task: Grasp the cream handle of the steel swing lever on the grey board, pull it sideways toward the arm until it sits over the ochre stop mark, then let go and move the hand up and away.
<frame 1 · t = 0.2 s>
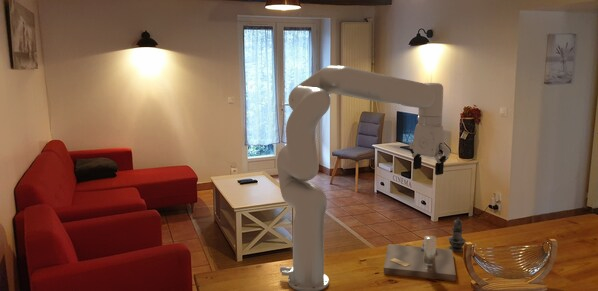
hand: (427, 171, 159), 31 cm above the table, tool pointing down, fingers open, 9 cm apart
lever: (429, 242, 157), point 8 cm above the table, hinge at 0.0°
dark grey tower figurine: (456, 249, 171), on the table
lever board: (419, 263, 159), on the table
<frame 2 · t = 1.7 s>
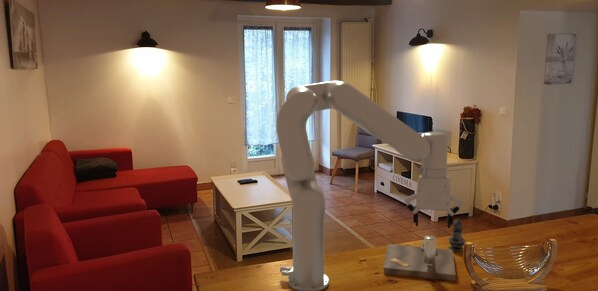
hand: (432, 225, 148), 17 cm above the table, tool pointing down, fingers open, 9 cm apart
nothing on the table moved.
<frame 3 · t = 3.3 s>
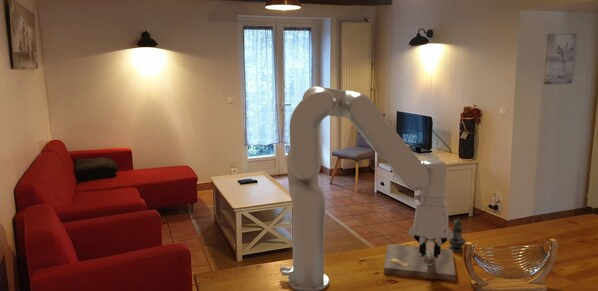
hand: (429, 255, 149), 7 cm above the table, tool pointing down, fingers closed on lever, 3 cm apart
lever: (429, 242, 157), point 8 cm above the table, hinge at 0.0°, touching gripper
everything else where it was.
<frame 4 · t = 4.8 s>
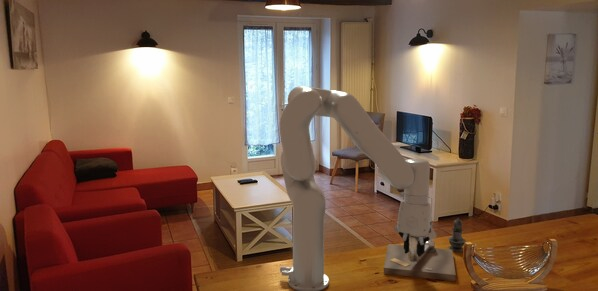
hand: (413, 252, 151), 7 cm above the table, tool pointing down, fingers closed on lever, 3 cm apart
lever: (421, 241, 158), point 8 cm above the table, hinge at 17.6°, touching gripper
everything else where it was.
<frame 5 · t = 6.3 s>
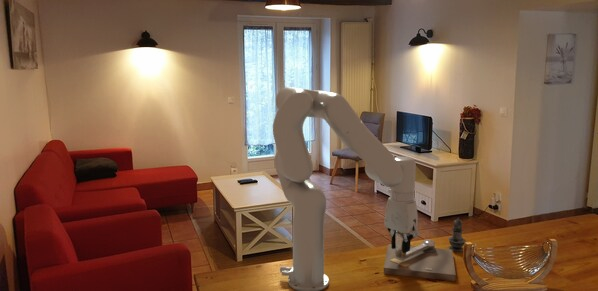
hand: (400, 249, 154), 7 cm above the table, tool pointing down, fingers closed on lever, 3 cm apart
lever: (415, 239, 159), point 8 cm above the table, hinge at 34.5°, touching gripper
everything else where it was.
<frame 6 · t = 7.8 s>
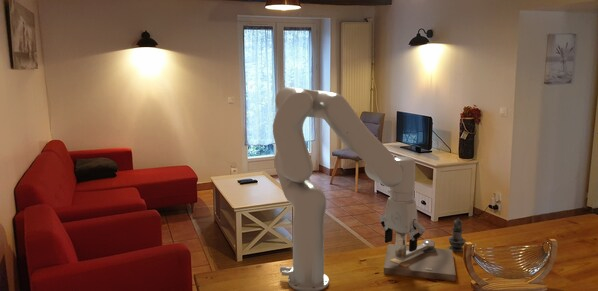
hand: (400, 246, 154), 8 cm above the table, tool pointing down, fingers open, 9 cm apart
lever: (415, 239, 159), point 8 cm above the table, hinge at 34.6°
everything else where it was.
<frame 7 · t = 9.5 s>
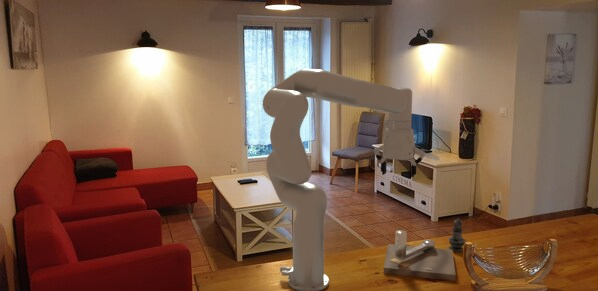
hand: (398, 175, 161), 29 cm above the table, tool pointing down, fingers open, 9 cm apart
nothing on the table moved.
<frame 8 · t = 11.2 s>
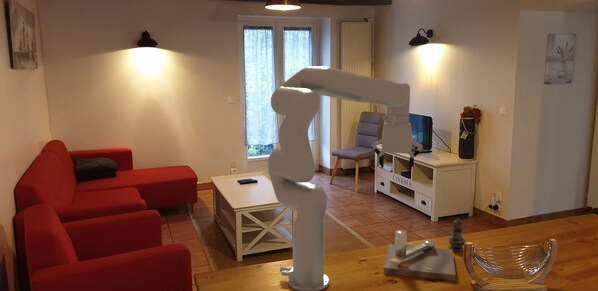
hand: (396, 168, 165), 30 cm above the table, tool pointing down, fingers open, 9 cm apart
nothing on the table moved.
at the end: lever at +35° (first picture: +0°); the gripper is holding nothing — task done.
